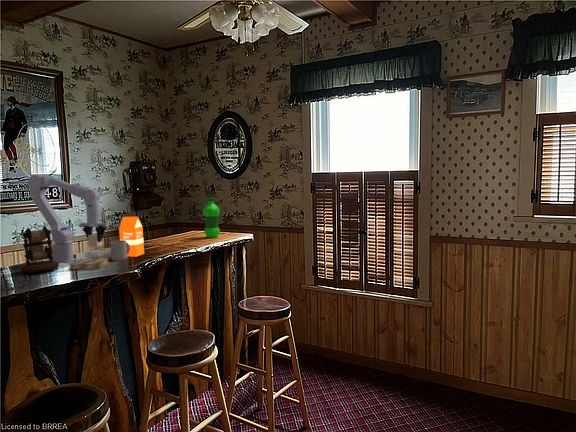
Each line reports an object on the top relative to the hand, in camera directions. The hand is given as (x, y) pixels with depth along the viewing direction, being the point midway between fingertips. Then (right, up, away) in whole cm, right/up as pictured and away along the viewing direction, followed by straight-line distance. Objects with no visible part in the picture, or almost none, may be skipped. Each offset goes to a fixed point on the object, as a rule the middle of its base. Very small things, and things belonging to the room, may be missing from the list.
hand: (95, 241), depth 210 cm
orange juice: (+14, -8, +13) cm, 20 cm away
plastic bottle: (+47, -1, +62) cm, 77 cm away
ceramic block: (0, -2, 0) cm, 2 cm away
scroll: (-16, -12, -19) cm, 28 cm away
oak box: (+3, -11, -12) cm, 17 cm away
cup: (+12, -9, +4) cm, 15 cm away
